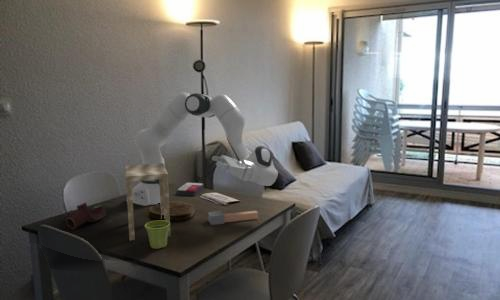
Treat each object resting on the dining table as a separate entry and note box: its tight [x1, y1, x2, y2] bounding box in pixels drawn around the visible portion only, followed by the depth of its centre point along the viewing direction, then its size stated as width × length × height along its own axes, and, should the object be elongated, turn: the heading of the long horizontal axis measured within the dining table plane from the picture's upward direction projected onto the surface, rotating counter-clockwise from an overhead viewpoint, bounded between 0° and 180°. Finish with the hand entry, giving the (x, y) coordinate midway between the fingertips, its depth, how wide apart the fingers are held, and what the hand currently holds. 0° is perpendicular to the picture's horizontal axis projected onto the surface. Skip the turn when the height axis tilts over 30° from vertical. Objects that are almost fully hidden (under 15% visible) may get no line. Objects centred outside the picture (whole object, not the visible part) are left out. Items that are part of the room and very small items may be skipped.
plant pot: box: [144, 219, 171, 250], centre depth 156 cm, size 9×9×9 cm
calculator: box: [175, 182, 205, 197], centre depth 233 cm, size 11×4×15 cm
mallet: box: [208, 210, 259, 226], centre depth 185 cm, size 22×6×4 cm, turn 107°
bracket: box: [65, 202, 107, 230], centre depth 182 cm, size 6×17×10 cm, turn 152°
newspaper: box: [200, 192, 242, 206], centre depth 218 cm, size 23×12×2 cm, turn 39°
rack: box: [125, 163, 171, 242], centre depth 172 cm, size 16×22×26 cm
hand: (214, 160), depth 178 cm, fingers open, 8 cm apart
